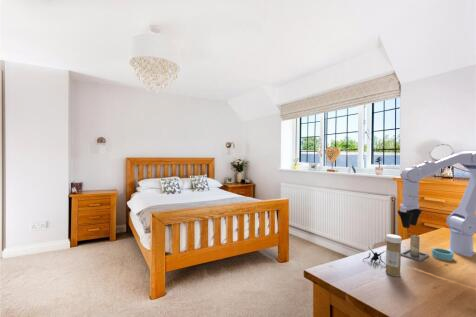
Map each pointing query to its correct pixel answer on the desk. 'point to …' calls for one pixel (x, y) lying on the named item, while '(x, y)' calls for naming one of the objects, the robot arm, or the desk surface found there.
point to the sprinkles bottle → (393, 254)
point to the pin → (414, 246)
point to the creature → (375, 257)
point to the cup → (442, 254)
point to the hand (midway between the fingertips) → (409, 226)
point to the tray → (420, 258)
